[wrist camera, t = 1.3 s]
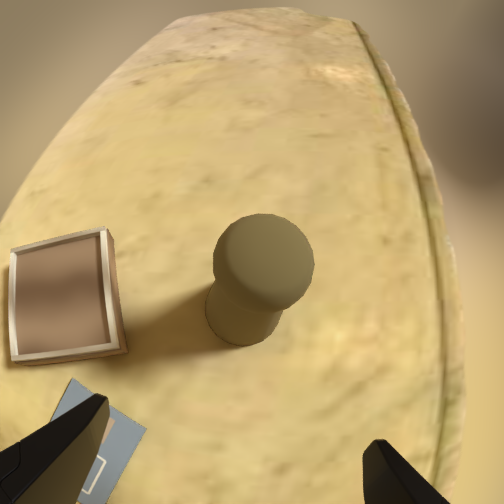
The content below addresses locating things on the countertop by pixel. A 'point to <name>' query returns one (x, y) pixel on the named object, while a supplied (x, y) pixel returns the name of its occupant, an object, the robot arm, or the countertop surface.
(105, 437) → the blueprint card
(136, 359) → the countertop surface
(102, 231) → the brown square tray
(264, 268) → the olive pawn figure
